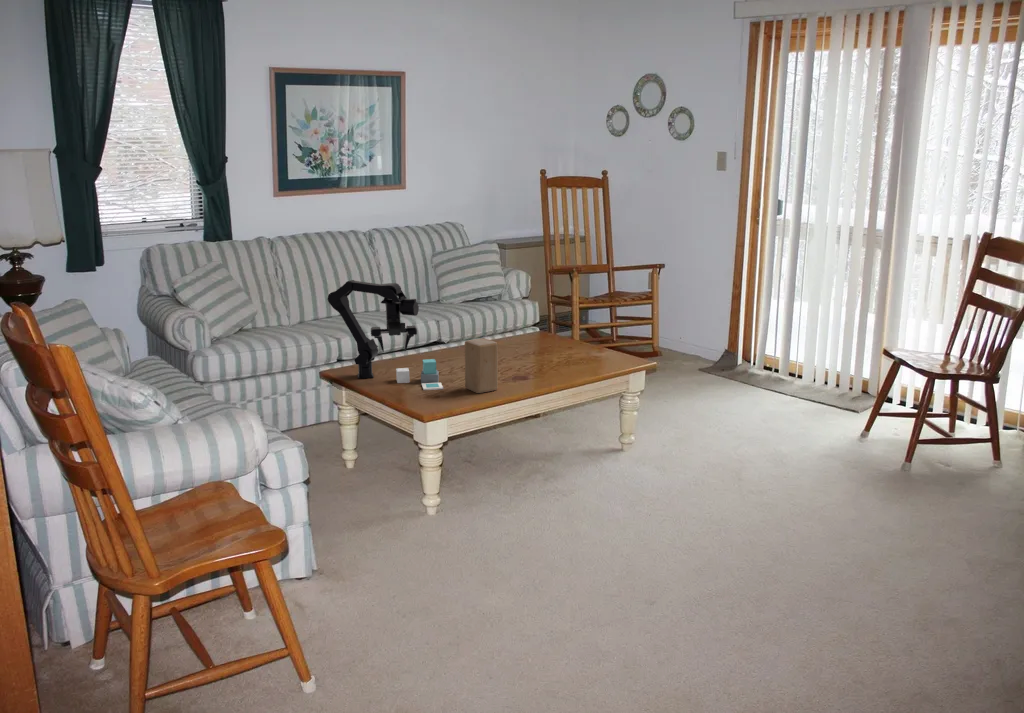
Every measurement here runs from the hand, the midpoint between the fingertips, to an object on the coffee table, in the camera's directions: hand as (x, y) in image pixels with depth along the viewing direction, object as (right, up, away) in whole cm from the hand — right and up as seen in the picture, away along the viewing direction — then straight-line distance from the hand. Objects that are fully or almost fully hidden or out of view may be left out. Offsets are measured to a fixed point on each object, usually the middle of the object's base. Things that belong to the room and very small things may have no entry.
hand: (394, 351), depth 374 cm
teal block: (+15, -9, -1) cm, 17 cm away
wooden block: (+37, -16, -12) cm, 42 cm away
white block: (+4, -13, 0) cm, 13 cm away
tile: (+17, -15, -9) cm, 24 cm away
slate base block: (+15, -13, 0) cm, 20 cm away
